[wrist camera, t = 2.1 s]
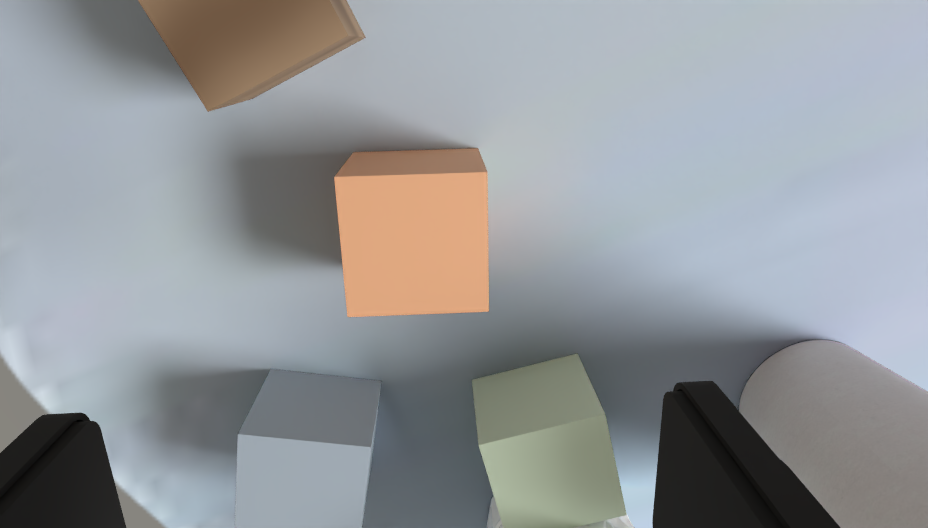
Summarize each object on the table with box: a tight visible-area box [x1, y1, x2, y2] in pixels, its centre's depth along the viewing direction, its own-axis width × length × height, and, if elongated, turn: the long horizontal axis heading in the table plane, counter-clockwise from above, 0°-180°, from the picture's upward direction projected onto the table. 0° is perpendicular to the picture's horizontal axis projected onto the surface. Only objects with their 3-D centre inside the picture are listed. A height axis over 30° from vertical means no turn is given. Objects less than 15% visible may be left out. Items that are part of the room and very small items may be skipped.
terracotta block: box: [334, 148, 489, 317], centre depth 23 cm, size 5×5×5 cm
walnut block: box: [138, 0, 366, 112], centre depth 20 cm, size 5×5×5 cm
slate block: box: [235, 369, 382, 528], centre depth 27 cm, size 5×5×5 cm
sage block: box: [472, 353, 626, 528], centre depth 27 cm, size 5×5×5 cm
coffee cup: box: [739, 340, 928, 528], centre depth 22 cm, size 10×10×15 cm
